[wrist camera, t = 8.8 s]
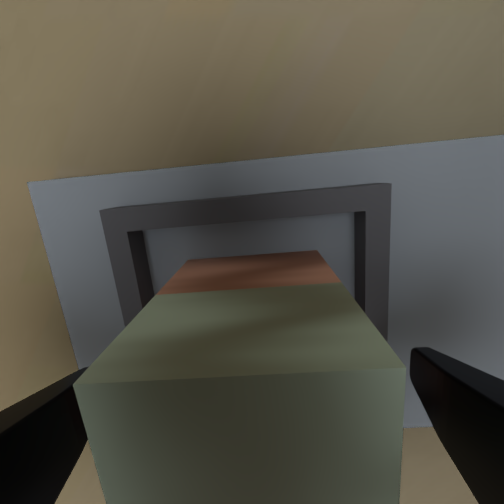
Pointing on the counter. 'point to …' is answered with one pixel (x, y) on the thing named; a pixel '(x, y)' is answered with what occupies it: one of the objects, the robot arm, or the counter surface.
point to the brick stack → (247, 391)
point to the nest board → (298, 240)
